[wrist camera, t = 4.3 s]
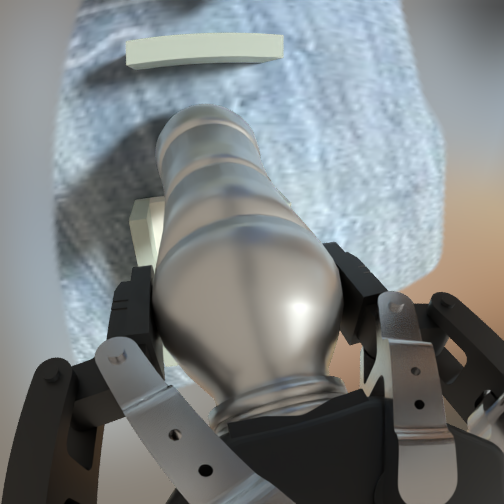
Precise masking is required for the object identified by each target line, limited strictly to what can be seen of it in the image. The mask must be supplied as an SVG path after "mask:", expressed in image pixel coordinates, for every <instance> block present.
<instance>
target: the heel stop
mask: <svg viewBox="0 0 504 504" xmlns="http://www.w3.org/2000/svg"><path fill="white" fill-rule="evenodd" d="M280 58H283V35H275V34H258V33H199V34H182V35H170V36H160V37H151V38H144V39H137V40H130V41H126V65H127V66H129V67H131V68H132V69H134V70H141V69H149V68H157V67H166V66H176V65H188V64H205V63H264V62H268V61H272V60H276V59H280Z"/></svg>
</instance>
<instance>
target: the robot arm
mask: <svg viewBox="0 0 504 504" xmlns="http://www.w3.org/2000/svg"><path fill="white" fill-rule="evenodd" d="M322 244H323V246H324V247H325V248H326V250H327V251H328V253H329V254H330V256H331V257H332V258H333V260H334V262H335V264H336V266H337V268H338V270H339V275H340V281H341V286H342V292H343V299H344V307H343V313H342V319H341V325H340V331H341V332H342V334H343V336H344V337H345V339H346V340H347V342H348V344H349V345H353V344H356V343H361V344H362V349H361V352H360V389H358V390H355V391H353V392H350V393H346V394H343V395H340V396H337V397H334V398H332V399H330V400H328V401H327V402H325V403H323V404H322V405H320V406H318V407H316V408H315V409H313V410H311V411H309V412H308V413H306V414H303V415H297V416H261V417H257V418H252V419H247V420H241V421H236V422H230V423H227V425H228V431H229V432H228V433H226V434H223V435H221V436H219V437H218V435H217V434H216V433H215V432H214V431H213V430H212V429H211V428H210V427H209V426H208V425H207V424H206V423H205V422H204V420H203V419H202V418H201V417H200V416H199V415H198V414H197V413H196V412H195V410H194V409H193V408H192V407H191V406H190V405H189V404H188V402H187V401H186V400H185V399H184V398H183V396H182V395H181V394H180V393H179V392H178V390H177V389H176V388H175V387H174V386H172V385H170V386H168V385H167V384H166V383H165V374H164V358H163V343H162V340H161V338H160V335H159V333H158V330H157V327H156V324H155V321H154V317H153V311H152V293H153V279H154V276H155V274H154V269H153V266H152V265H147V266H139V267H133V269H132V276H131V281H127V282H121V283H120V285H119V286H118V287H117V289H116V290H115V291H114V297H113V303H112V308H111V310H112V311H111V314H110V320H109V326H108V333H107V340H106V341H104V342H103V343H102V344H101V345H100V346H99V347H98V349H97V350H96V353H95V357H94V358H92V359H91V360H88V361H86V362H83V363H80V364H77V365H74V366H71V365H70V364H69V362H68V361H66V360H65V359H62V358H51V359H48V360H46V361H44V362H43V363H42V364H40V365H39V366H38V368H37V369H36V371H35V373H34V376H33V379H32V381H31V384H30V387H29V390H28V393H27V396H26V399H25V402H24V405H23V409H22V412H21V416H20V419H19V422H18V426H17V429H16V433H15V437H14V441H13V445H12V449H11V453H10V458H9V462H8V467H7V473H6V478H5V483H4V489H3V496H2V503H1V504H97V490H98V477H99V466H100V457H101V447H102V440H103V432H104V425H105V424H107V423H109V422H112V421H115V420H118V419H121V418H123V417H127V419H128V421H129V423H130V424H131V426H132V427H133V429H134V430H135V432H136V434H137V435H138V437H139V438H140V440H141V441H142V442H143V444H144V445H145V447H146V448H147V450H148V451H149V452H150V454H151V455H152V457H153V458H154V459H155V461H156V462H157V464H158V465H159V466H160V468H161V469H162V470H163V471H164V473H165V474H166V475H167V477H168V478H169V479H170V480H171V482H172V483H173V484H174V486H175V487H176V488H175V490H174V491H173V493H172V494H171V496H170V497H169V499H168V501H167V502H166V504H504V341H503V340H502V339H501V338H500V337H499V336H498V335H497V334H496V333H495V332H494V331H493V330H492V329H491V328H489V327H488V326H487V325H486V324H485V323H484V322H483V321H482V320H481V319H480V318H479V317H478V316H477V315H475V314H474V313H473V312H472V311H471V310H470V309H469V308H468V307H466V306H465V305H464V304H463V303H462V302H461V301H460V300H458V299H457V298H456V297H454V296H453V295H451V294H449V293H445V292H437V293H435V294H433V296H432V298H431V300H430V302H429V304H414V303H413V302H412V300H411V299H410V298H409V297H408V296H406V295H404V294H402V293H400V292H396V291H388V290H387V289H386V288H385V287H384V286H383V285H382V283H381V282H380V281H379V280H378V279H377V278H376V277H375V276H374V275H373V274H372V273H370V270H369V269H368V268H367V267H365V265H364V264H363V263H362V262H361V261H360V260H359V259H358V258H357V257H355V256H354V255H352V254H350V253H348V252H344V251H343V249H342V248H341V247H340V246H339V245H338V244H337V243H336V242H330V243H322ZM449 337H450V338H451V339H452V340H453V341H454V342H455V343H456V344H457V345H458V346H459V347H460V348H461V349H462V350H463V351H464V352H465V354H466V356H467V363H466V365H465V367H463V366H462V365H461V364H460V363H459V362H458V361H457V359H456V358H455V357H454V356H453V355H452V354H451V353H450V352H449V351H448V350H447V349H446V348H445V347H444V346H445V344H446V342H447V341H448V339H449ZM442 395H443V396H444V397H445V398H446V399H447V401H448V402H449V403H450V404H451V405H452V407H453V408H454V409H455V410H456V411H457V412H458V414H459V415H460V416H461V417H462V418H463V420H464V421H465V422H466V423H467V425H468V430H467V431H464V430H462V429H459V428H457V427H455V426H452V425H450V424H447V423H446V417H445V410H444V403H443V396H442Z"/></svg>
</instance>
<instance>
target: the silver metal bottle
mask: <svg viewBox="0 0 504 504" xmlns="http://www.w3.org/2000/svg"><path fill="white" fill-rule="evenodd" d="M155 156H156V164H157V168H158V172H159V175H160V178H161V181H162V183H163V190H164V196H165V208H164V222H163V233H162V237H161V242H160V247H159V252H158V258H157V263H156V268H155V276H154V279H153V293H152V311H153V317H154V321H155V324H156V327H157V330H158V333H159V335H160V338H161V340H162V343H163V345H164V347H165V348H166V350H167V351H168V352H169V354H170V355H171V356H172V357H173V358H174V360H175V361H176V362H177V363H178V364H179V366H180V367H181V368H182V369H183V370H184V372H185V373H186V374H187V375H188V376H189V377H190V378H191V379H192V380H193V381H194V382H196V383H197V384H198V385H199V386H200V387H201V388H202V389H204V391H206V392H207V393H208V394H209V395H210V396H211V397H212V398H214V400H215V403H216V407H215V408H213V409H212V411H210V413H209V415H208V420H209V426H210V428H211V429H212V430H213V431H214V432H215V433H216V434H217V435H218V437H219V436H221V435H223V434H226V433H228V432H229V431H228V425H227V423H230V422H236V421H241V420H247V419H252V418H257V417H261V416H297V415H303V414H306V413H308V412H309V411H311V410H313V409H315V408H316V407H318V406H320V405H322V404H323V403H325V402H327V401H328V400H330V399H332V398H334V397H337V396H340V395H343V394H346V393H348V392H347V389H346V387H345V384H344V382H343V381H342V380H341V379H340V378H337V377H334V376H330V374H329V369H328V368H329V365H330V362H331V359H332V356H333V353H334V349H335V346H336V343H337V340H338V336H339V331H340V325H341V319H342V313H343V307H344V299H343V292H342V286H341V281H340V275H339V270H338V268H337V266H336V264H335V262H334V260H333V258H332V257H331V256H330V254H329V253H328V251H327V250H326V248H325V247H324V246H323V244H322V243H321V241H320V240H319V239H318V238H317V237H316V236H315V235H314V233H313V232H312V231H311V230H310V229H309V228H308V227H307V225H306V224H305V223H304V222H303V221H302V220H301V219H300V217H299V216H298V215H297V214H296V213H295V212H294V211H293V210H292V208H291V207H290V206H289V205H288V204H287V203H286V202H285V201H284V199H283V198H282V196H281V195H280V193H279V192H278V190H277V189H276V187H275V186H274V184H273V183H272V182H271V180H270V179H269V177H268V176H267V173H266V171H265V168H264V166H263V163H262V161H261V157H260V149H259V146H258V143H257V140H256V137H255V134H254V132H253V130H252V129H251V127H250V126H249V124H248V123H247V122H246V121H245V120H244V119H243V118H242V117H241V116H239V115H237V114H236V113H234V112H233V111H231V110H229V109H227V108H224V107H222V106H219V105H214V104H198V105H193V106H189V107H187V108H185V109H182V110H181V111H179V112H178V113H176V114H175V115H174V116H173V117H172V118H171V119H170V120H169V121H168V122H167V124H166V125H165V127H164V128H163V130H162V131H161V133H160V135H159V137H158V140H157V143H156V150H155Z"/></svg>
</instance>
